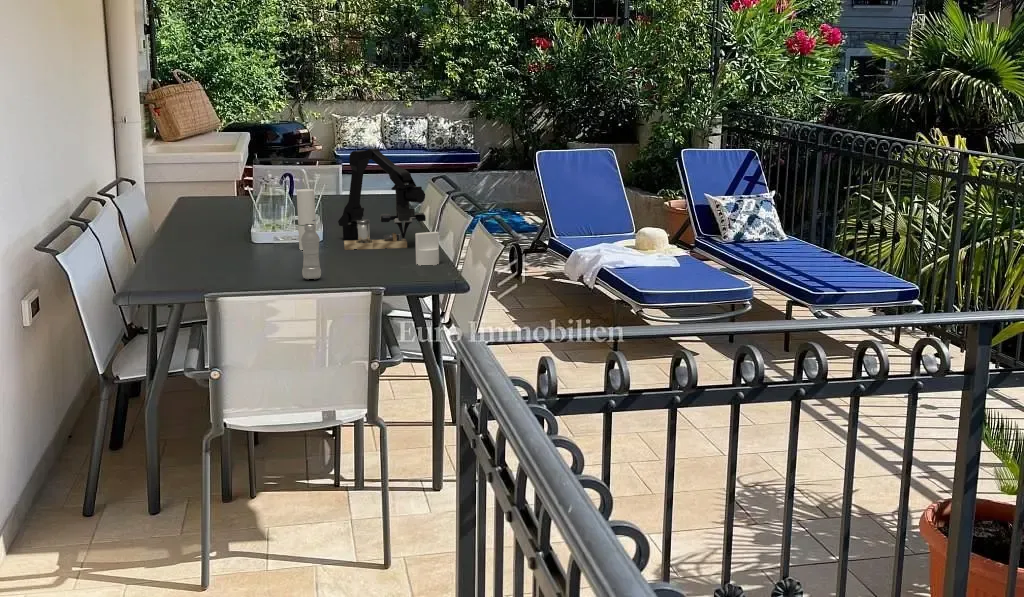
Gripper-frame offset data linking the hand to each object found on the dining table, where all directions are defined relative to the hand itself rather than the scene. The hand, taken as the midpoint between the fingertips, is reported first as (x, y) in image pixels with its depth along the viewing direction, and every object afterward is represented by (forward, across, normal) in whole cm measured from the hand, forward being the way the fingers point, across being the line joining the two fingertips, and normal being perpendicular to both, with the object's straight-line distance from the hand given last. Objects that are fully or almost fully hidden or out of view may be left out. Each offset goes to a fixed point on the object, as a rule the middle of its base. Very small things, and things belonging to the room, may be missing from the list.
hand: (403, 237), depth 430 cm
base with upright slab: (+4, +6, -40) cm, 40 cm away
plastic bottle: (+4, -38, -61) cm, 72 cm away
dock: (+4, -12, 0) cm, 12 cm away
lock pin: (+1, -5, 0) cm, 5 cm away
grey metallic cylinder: (+4, -16, 0) cm, 17 cm away
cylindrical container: (+4, -40, -1) cm, 40 cm away
